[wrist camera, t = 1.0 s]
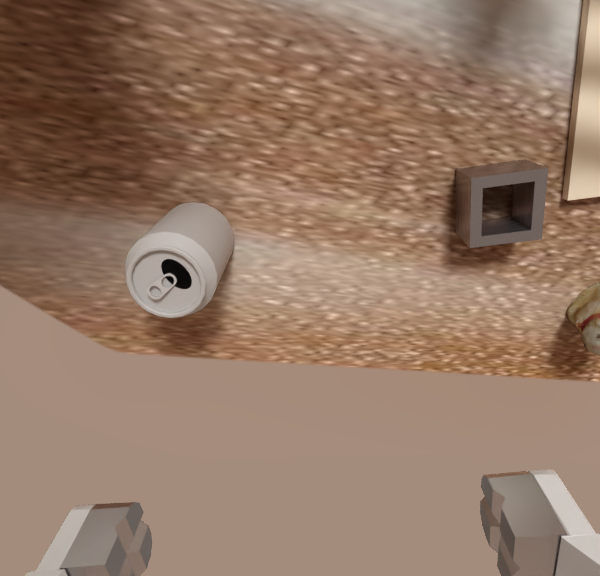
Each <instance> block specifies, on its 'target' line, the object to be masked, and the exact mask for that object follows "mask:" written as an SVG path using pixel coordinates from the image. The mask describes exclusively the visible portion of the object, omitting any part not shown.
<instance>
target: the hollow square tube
mask: <svg viewBox="0 0 600 576" xmlns="http://www.w3.org/2000/svg"><path fill="white" fill-rule="evenodd" d="M547 174H548V168H547V167H544V166H541V165H539V164H536V163H533V162H530V161H527V160H519V161H512V162H505V163H497V164H490V165H483V166H475V167H468V168H461V169H456V234H457V235H458V236H459V237H460V238H461V239H462V240H463V241H464V242H465V244H466V245H467V246H468V247H469V248H475V247H483V246H491V245H499V244H507V243H515V242H523V241H531V240H539V239H542V230H543V218H544V207H545V196H546V185H547ZM511 184H513V189H512V206H511V217H504V218H496V219H489V220H482V199H483V188H489V187H496V186H504V185H511Z"/></svg>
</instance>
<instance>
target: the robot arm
mask: <svg viewBox="0 0 600 576" xmlns="http://www.w3.org/2000/svg"><path fill="white" fill-rule="evenodd" d="M481 488H482V490H483V493H484V495H485V497H484V498H483V499H482V500H481V502H480V513H481V520H482V526H483V529H484V532H485V536H486V538H487V541H488V543H489V546H490V547H491V548H492V549H493V550H495V551H496V552H497V553H498V562H497V566H498V569H499V571H500V574H501V576H600V534H596V533H595V531H594V530H593V528H592V527H591V525H590V524H589V522H588V521H587V519H586V518H585V516H584V515H583V513H582V511H581V510H580V509H579V507H578V505H577V504H576V502H575V501H574V499H573V498H572V496H571V495H570V493H569V492H568V490H567V489H566V487H565V486H564V484H563V483H562V481H561V480H560V478H559V476H558V475H557V473H556V472H554V471H553V470H552V469H549V470H537V471H528V472H527V471H522V472H511V473H500V474H488V475H483V477H482V482H481ZM142 515H143V510H142V508H141V506H140V504H139V503H136V502H133V503H132V502H131V503H111V504H95V505H78V506H75V507H74V508H73V509H72V510H71V511H70V512H69V514H68V515H67V517H66V519H65V521H64V522H63V524H62V526H61V528H60V529H59V531H58V533H57V534H56V536H55V538H54V540H53V541H52V543H51V545H50V547H49V549H48V550H47V552H46V554H45V555H44V557H43V559H42V560H41V562H40V564H39V566H38V567H37V569H36V571H30V572H28V573H27V574H26V575H25V576H140V575H141V574H142V573H143V572H144V571H145V570H146V569H147V566H148V562H149V559H150V556H151V547H152V538H151V532H150V529H149V526H148V525H147V524H146V523H144V522H143V521H141V517H142Z"/></svg>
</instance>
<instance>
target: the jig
mask: <svg viewBox="0 0 600 576" xmlns="http://www.w3.org/2000/svg"><path fill="white" fill-rule="evenodd" d="M592 197H600V0H583V7H582V17H581V26H580V35H579V45H578V54H577V64H576V73H575V83H574V92H573V101H572V111H571V120H570V130H569V139H568V149H567V158H566V167H565V177H564V186H563V196H562V198H563V199H565V200H567V201H569V200H577V199H585V198H592Z"/></svg>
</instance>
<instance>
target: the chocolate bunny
mask: <svg viewBox="0 0 600 576" xmlns="http://www.w3.org/2000/svg"><path fill="white" fill-rule="evenodd" d="M567 315H568V319H569V320H570V321H571V322H572V323H573V324H574V326H575V327H577V329H578V330H579V331H580V332H581V333H582V341H583V343H584V346H585V347H586V349H587V350H588V351H590V352H592V353H595V354H597V355H599V356H600V282H599V283H596V284H595V285H593V286H591V287H589V288H587V289H585V290H584V291H582V292H581V293H580V294H579V295H578V297H577V298H576V299H574V300H573V301H572V303H571V304H570V306H569V307H568V309H567Z"/></svg>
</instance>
